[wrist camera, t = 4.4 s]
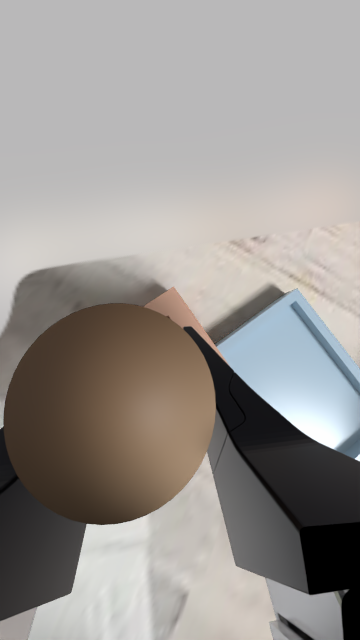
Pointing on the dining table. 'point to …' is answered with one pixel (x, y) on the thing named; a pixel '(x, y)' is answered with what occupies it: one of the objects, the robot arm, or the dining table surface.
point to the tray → (299, 371)
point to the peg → (109, 414)
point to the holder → (179, 313)
